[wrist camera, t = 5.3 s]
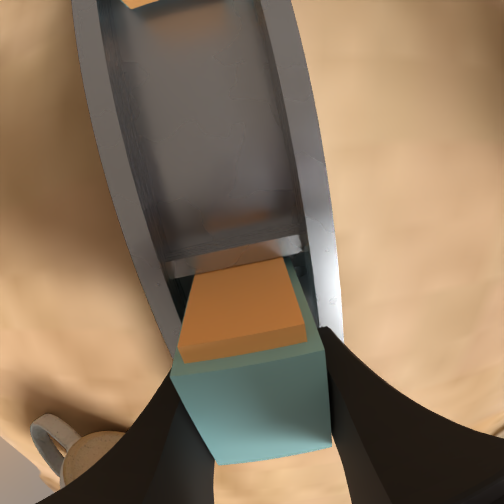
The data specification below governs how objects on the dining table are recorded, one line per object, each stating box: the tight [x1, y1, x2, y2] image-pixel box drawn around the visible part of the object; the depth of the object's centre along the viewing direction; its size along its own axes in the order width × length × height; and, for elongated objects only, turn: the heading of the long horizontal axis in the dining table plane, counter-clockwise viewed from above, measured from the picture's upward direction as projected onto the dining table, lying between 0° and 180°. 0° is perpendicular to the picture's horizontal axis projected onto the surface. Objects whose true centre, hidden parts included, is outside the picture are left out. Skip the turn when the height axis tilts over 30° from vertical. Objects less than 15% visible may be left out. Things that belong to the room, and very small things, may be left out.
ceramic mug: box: [30, 414, 125, 489], centre depth 14 cm, size 11×8×8 cm
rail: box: [71, 0, 344, 360], centre depth 10 cm, size 6×22×3 cm, turn 12°
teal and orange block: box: [170, 256, 332, 465], centre depth 10 cm, size 3×4×5 cm
